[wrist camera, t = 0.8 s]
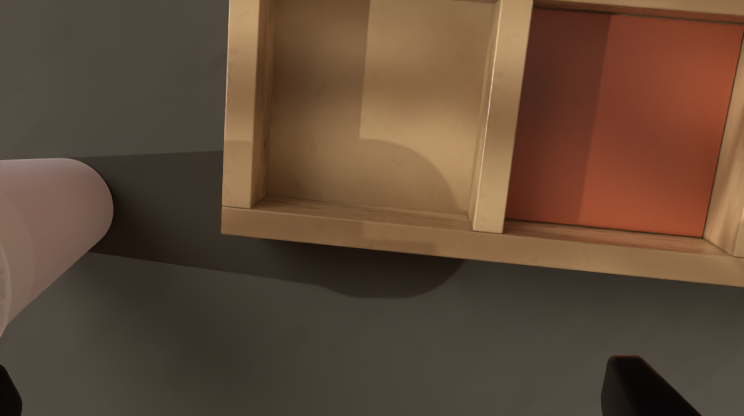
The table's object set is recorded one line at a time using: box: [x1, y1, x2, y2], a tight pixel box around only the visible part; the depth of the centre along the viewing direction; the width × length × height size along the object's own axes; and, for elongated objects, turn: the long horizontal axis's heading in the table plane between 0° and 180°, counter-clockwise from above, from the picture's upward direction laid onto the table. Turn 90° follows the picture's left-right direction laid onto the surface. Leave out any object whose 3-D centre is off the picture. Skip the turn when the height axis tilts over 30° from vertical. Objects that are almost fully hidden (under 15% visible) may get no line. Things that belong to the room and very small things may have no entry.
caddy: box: [221, 0, 744, 287], centre depth 22 cm, size 10×18×3 cm, turn 85°
